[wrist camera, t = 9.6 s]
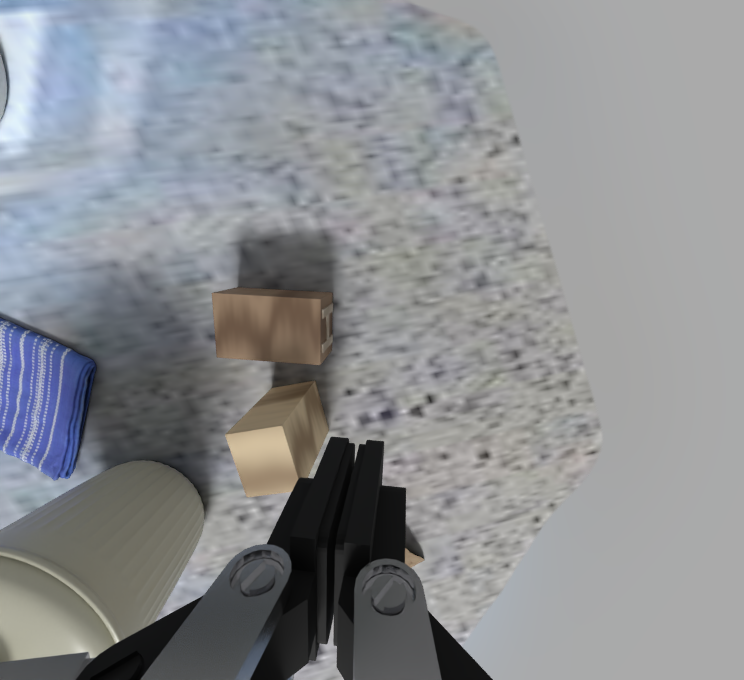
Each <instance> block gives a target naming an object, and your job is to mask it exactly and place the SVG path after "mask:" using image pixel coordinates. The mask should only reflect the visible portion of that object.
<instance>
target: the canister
mask: <svg viewBox="0 0 744 680" xmlns="http://www.w3.org/2000/svg"><path fill="white" fill-rule="evenodd" d="M203 525H204V509H203V503H202V502H201V497H200V496H199V494H198V491H197V489H195V488H194V486H193V484H192V483H191V482H190V481H189V480H188V478H186V477H185V476H183V474H182V473H180V472H178V471H177V470H176V469H174V468H171V467H169V465H164V464H162V463H161V462H154V461H145V460H140V461H131V462H127V463H123V464H120V465H117V466H115V467H113V468H111V469H109V470H106V471H104V472H102V473H100V474H99V475H97V476H95V477H93V478H91V479H89V480H88V481H86V482H84V483H82V484H80V485H78V486H77V487H75V488H73V489H71V490H69V491H68V492H66V493H64V494H62V495H61V496H59V497H57V498H55V499H54V500H52V501H50V502H48V503H47V504H45V505H43V506H41V507H40V508H38V509H36V510H35V511H33V512H31V513H29V514H28V515H26V516H24V517H22V518H21V519H19V520H17V521H15V522H14V523H12V524H10V525H8V526H7V527H5V528H3V529H1V530H0V662H6V661H14V660H23V659H31V658H40V657H49V656H57V655H66V654H74V653H83V652H89V655H90V658H96V657H97V656H98V655H99V654H100V653H102V652H103V651H105V650H106V649H108V648H109V647H111V646H112V645H114V644H116V643H117V642H119V641H121V640H123V639H125V638H127V637H128V636H130V635H132V634H134V633H136V632H138V631H139V630H141V629H143V628H145V627H147V626H149V625H150V624H152V623H154V622H155V620H156V619H157V617H158V615H159V613H160V612H161V610H162V608H163V606H164V605H165V603H166V601H167V599H168V598H169V596H170V594H171V592H172V591H173V589H174V587H175V585H176V583H177V582H178V580H179V578H180V576H181V574H182V572H183V571H184V569H185V567H186V565H187V563H188V561H189V559H190V557H191V556H192V554H193V552H194V550H195V548H196V546H197V543H198V541H199V539H200V537H201V534H202V530H203Z"/></svg>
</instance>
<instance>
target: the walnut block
mask: <svg viewBox="0 0 744 680" xmlns="http://www.w3.org/2000/svg"><path fill="white" fill-rule="evenodd" d="M332 295H333V293H332V292H314V291H296V290H278V289H260V288H242V287H237V288H232V289H228V290H223V291H219V292H214V293H212V301H213V314H214V328H215V341H216V354H217V357H219V358H232V359H245V360H259V361H272V362H285V363H298V364H312V365H321V364H322V362H323V361H324V360H325V358H326V357H327V356H328V355H329V353H330V352H331V351H332V342H333V334H332V311H333V303H332Z"/></svg>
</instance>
